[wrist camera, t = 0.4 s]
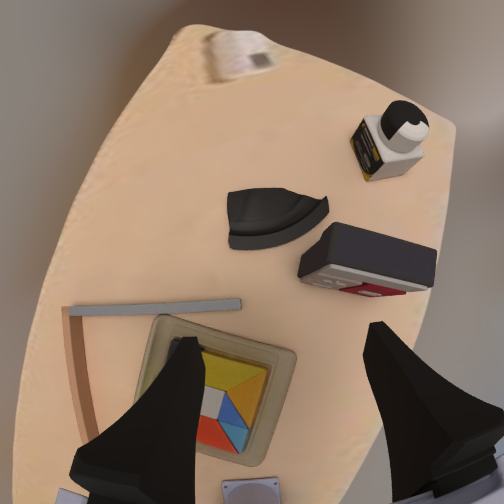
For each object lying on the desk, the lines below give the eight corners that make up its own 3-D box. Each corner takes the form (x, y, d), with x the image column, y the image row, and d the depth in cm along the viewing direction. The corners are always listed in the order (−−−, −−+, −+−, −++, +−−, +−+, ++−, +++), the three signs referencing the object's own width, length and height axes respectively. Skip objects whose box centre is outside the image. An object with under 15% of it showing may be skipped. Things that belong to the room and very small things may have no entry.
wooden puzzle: (159, 311, 39) (151, 311, 36) (298, 350, 39) (303, 354, 35) (132, 425, 36) (123, 433, 33) (261, 462, 36) (263, 474, 32)
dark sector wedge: (331, 246, 41) (334, 244, 39) (229, 252, 40) (229, 250, 39) (324, 188, 42) (327, 184, 41) (226, 192, 42) (226, 187, 40)
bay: (256, 468, 35) (256, 480, 32) (99, 461, 34) (90, 471, 31) (240, 298, 39) (240, 298, 35) (74, 306, 38) (61, 306, 35)
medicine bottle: (348, 140, 43) (376, 94, 31) (386, 135, 44) (419, 93, 32) (365, 182, 42) (401, 144, 30) (403, 175, 42) (444, 139, 31)
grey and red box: (295, 283, 39) (324, 270, 25) (302, 250, 40) (333, 220, 25) (372, 299, 39) (434, 295, 25) (377, 268, 40) (439, 250, 25)
